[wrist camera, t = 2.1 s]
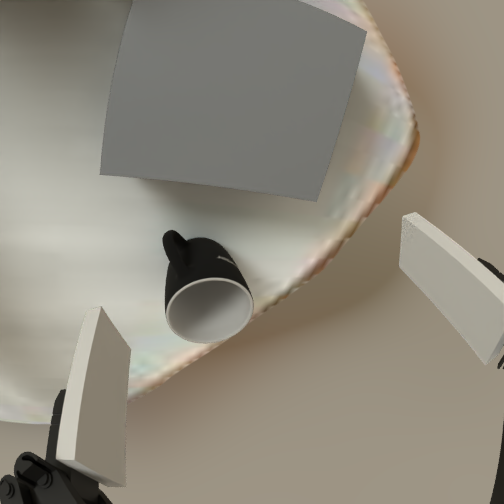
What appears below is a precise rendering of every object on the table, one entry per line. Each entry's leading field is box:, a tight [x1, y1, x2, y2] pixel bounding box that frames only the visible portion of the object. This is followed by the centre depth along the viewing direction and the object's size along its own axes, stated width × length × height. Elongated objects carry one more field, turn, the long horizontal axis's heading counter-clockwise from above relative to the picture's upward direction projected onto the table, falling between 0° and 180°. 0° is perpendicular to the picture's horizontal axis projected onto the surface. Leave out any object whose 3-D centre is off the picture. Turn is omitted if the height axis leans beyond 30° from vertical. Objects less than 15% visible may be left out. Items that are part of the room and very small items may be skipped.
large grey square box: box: [100, 0, 367, 202], centre depth 24 cm, size 21×19×8 cm
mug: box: [162, 230, 254, 343], centre depth 33 cm, size 12×9×10 cm
